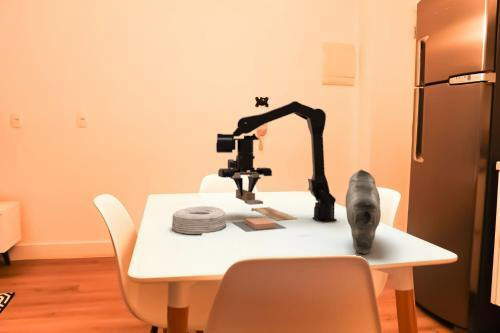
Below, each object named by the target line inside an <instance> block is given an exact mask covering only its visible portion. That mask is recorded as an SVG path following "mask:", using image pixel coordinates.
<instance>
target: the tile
mask: <svg viewBox="0 0 500 333" xmlns="http://www.w3.org/2000/svg"><path fill="white" fill-rule="evenodd" d="M244 221H245V224H247V225H249V226H250V227H252V228H254V229H255V230H260V229H271V228H276V223H277V222H276V221H273V220H272V219H270V218H269V219H268V218H267V217H265V216H263V217H252V218H251V217H249V218H245V219H244Z"/></svg>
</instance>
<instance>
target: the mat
mask: <svg viewBox="0 0 500 333" xmlns="http://www.w3.org/2000/svg"><path fill="white" fill-rule="evenodd" d="M275 223H276V228H271V229H260V230H255V229H254V228H252V227H250V226H249V225H247V224H245V220H243V221H232V222H231V224H233V225H234V226H236V227H237V228H239V229H241V230H242V231H244V232H246V233H250V232H259V231H260V232H262V231H270V230H271V231H273V230H283V229H287V227H286V226H283V225H281V224H280V223H277V222H275Z"/></svg>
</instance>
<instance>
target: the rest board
mask: <svg viewBox="0 0 500 333" xmlns="http://www.w3.org/2000/svg"><path fill="white" fill-rule="evenodd" d="M251 212H257V213H259V214H262V215H264V216H266V217H268V218H269V219H270V218H271V220H274V221H278V222H280V221H291V220H292V221H293V220H298V218H297V217H295V216H292V215H290V214H287V213H284V212H283V211H280V210H277V209H274V208H272V207H270V206H267V207H254V208H253V207H252V208H251Z"/></svg>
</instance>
